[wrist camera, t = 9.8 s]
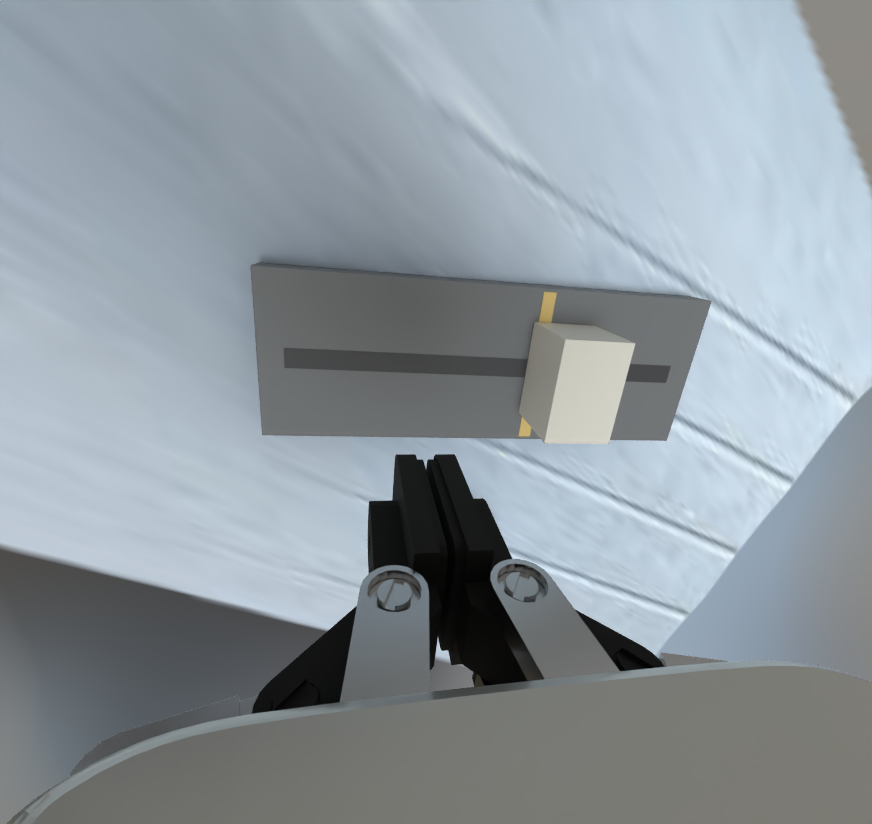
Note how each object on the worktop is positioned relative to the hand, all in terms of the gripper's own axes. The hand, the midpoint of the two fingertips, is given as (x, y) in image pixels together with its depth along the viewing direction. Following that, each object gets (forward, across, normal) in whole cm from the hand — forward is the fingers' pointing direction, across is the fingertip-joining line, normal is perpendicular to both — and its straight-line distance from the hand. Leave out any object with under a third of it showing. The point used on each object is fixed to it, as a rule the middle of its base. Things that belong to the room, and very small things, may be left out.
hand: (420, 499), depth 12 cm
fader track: (+17, -7, +1) cm, 18 cm away
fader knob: (+15, -11, +1) cm, 18 cm away
